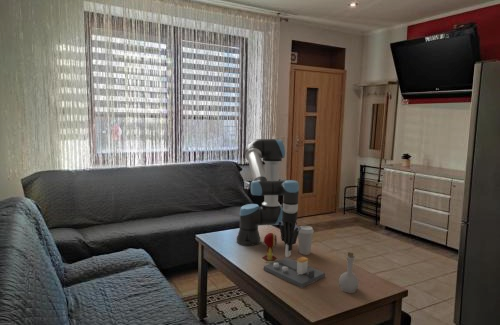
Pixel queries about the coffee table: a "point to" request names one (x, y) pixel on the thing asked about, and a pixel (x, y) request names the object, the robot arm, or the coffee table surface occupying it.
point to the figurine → (270, 248)
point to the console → (293, 272)
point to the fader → (302, 265)
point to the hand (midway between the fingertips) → (287, 255)
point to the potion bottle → (349, 277)
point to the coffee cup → (305, 239)
